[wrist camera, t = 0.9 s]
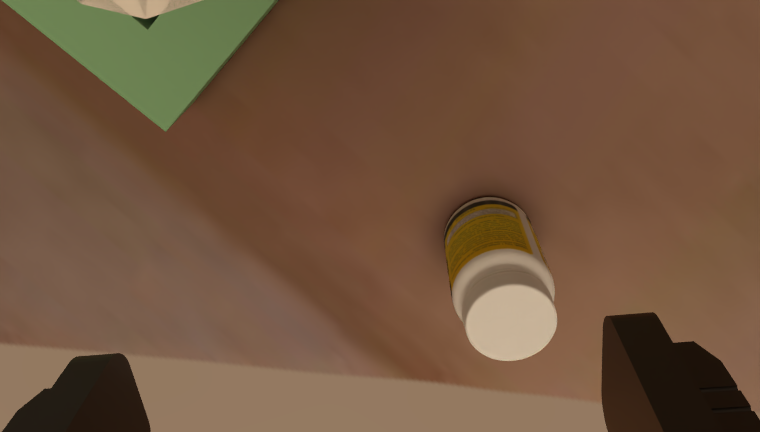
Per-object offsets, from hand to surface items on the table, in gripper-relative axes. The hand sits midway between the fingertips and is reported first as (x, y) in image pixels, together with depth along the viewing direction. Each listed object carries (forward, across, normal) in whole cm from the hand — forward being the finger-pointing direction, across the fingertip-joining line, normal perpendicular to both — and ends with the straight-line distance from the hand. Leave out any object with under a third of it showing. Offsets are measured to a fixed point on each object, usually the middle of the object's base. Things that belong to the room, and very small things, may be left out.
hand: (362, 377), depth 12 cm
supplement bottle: (+24, -4, +10) cm, 27 cm away
